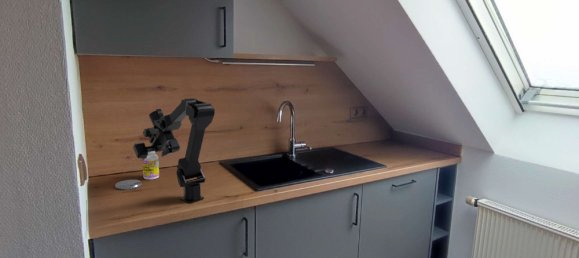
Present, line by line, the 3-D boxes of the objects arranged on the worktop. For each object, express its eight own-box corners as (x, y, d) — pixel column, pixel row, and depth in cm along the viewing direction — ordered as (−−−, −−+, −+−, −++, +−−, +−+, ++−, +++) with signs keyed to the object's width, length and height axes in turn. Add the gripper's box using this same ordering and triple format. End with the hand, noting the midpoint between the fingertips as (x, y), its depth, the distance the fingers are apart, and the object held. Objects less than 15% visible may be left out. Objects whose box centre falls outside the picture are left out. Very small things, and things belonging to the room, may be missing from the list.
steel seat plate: (146, 185, 155) (145, 183, 155) (122, 191, 148) (122, 189, 148) (134, 180, 162) (134, 178, 162) (111, 186, 154) (111, 183, 154)
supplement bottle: (140, 179, 163) (138, 151, 160) (148, 174, 169) (146, 147, 167) (154, 180, 162) (153, 152, 160) (162, 175, 168) (160, 148, 166)
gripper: (175, 119, 162) (165, 139, 172) (133, 124, 149) (124, 146, 159) (185, 140, 158) (174, 159, 168) (142, 147, 145) (133, 167, 155)
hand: (151, 157), depth 163 cm, fingers open, 9 cm apart
